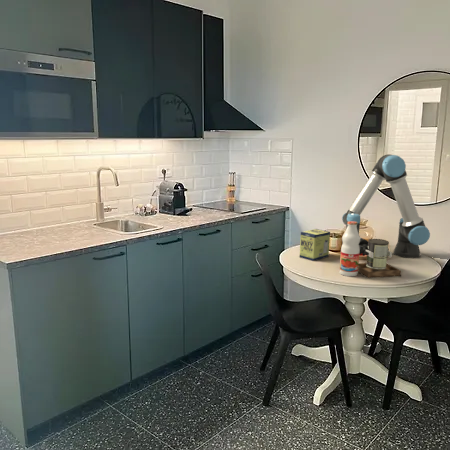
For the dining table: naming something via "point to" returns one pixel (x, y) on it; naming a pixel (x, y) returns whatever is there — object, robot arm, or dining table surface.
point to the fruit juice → (350, 250)
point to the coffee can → (377, 253)
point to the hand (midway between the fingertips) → (381, 255)
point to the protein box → (314, 244)
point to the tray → (378, 271)
